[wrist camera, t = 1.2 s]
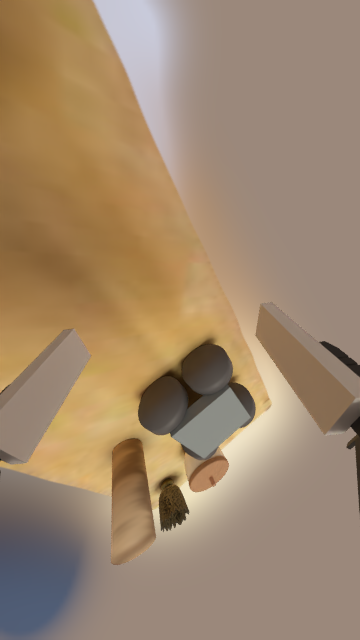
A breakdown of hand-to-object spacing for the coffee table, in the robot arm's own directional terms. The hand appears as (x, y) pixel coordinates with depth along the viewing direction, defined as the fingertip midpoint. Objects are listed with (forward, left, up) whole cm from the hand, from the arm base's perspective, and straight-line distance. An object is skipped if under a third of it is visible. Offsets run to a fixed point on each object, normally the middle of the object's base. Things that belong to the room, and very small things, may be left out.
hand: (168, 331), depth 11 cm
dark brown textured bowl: (+48, -28, -15) cm, 58 cm away
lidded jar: (+43, -14, -15) cm, 48 cm away
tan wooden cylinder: (+26, -24, -15) cm, 39 cm away
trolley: (+24, -4, -15) cm, 29 cm away
